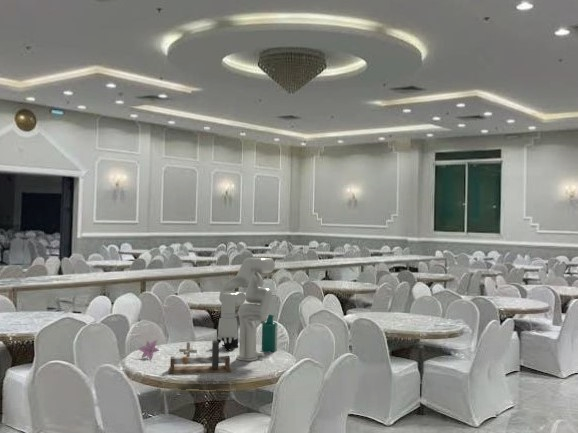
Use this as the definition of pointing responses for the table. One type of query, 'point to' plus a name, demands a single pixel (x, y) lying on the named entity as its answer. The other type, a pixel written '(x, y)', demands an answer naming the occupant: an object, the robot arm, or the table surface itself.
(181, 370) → the pipe stand
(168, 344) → the table surface
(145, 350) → the lily
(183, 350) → the pipe connector
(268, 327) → the teal bottle
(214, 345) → the dark grey tapered slab
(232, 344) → the milk frother
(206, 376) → the table surface
